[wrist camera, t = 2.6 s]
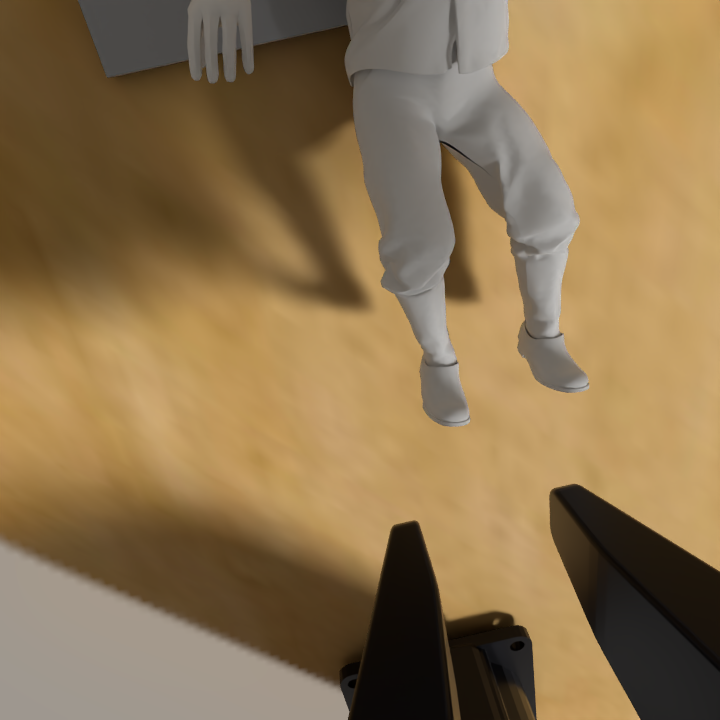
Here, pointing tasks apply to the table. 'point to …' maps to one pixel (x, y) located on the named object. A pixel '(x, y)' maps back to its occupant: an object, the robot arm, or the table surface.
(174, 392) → the table surface
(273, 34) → the board
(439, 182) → the soldier figure
